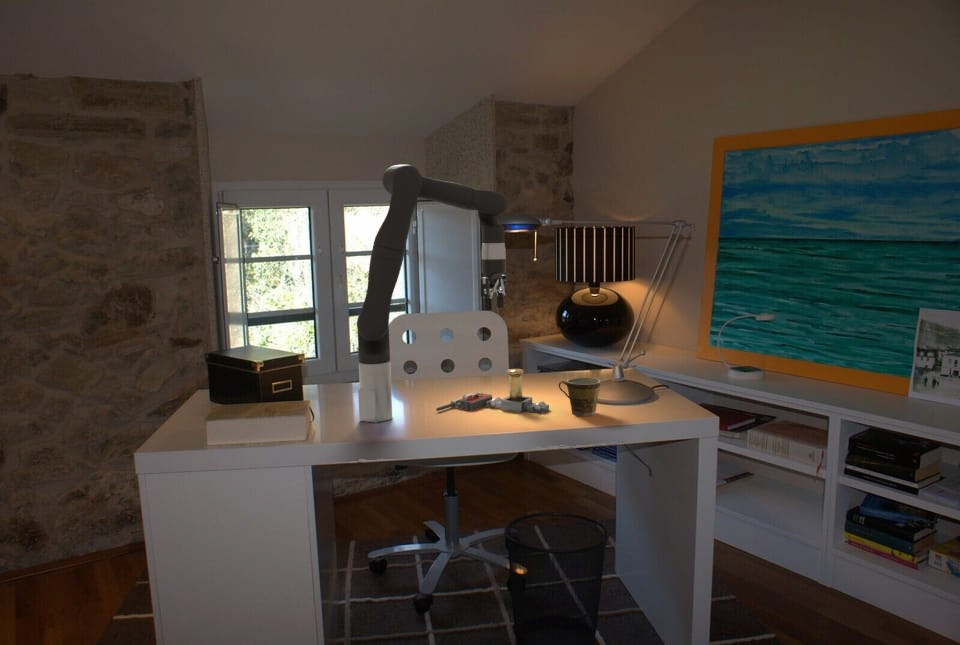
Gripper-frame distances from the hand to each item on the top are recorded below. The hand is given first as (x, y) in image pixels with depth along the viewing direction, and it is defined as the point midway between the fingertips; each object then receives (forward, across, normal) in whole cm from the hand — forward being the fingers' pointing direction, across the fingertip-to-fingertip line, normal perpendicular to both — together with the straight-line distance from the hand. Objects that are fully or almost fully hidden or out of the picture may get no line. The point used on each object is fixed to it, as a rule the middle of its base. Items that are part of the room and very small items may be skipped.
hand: (494, 309), depth 231 cm
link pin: (+30, -5, -9) cm, 32 cm away
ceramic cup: (+30, -3, -29) cm, 42 cm away
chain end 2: (+30, -5, -12) cm, 33 cm away
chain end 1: (+30, -5, -3) cm, 31 cm away
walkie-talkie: (+31, -10, +6) cm, 33 cm away
